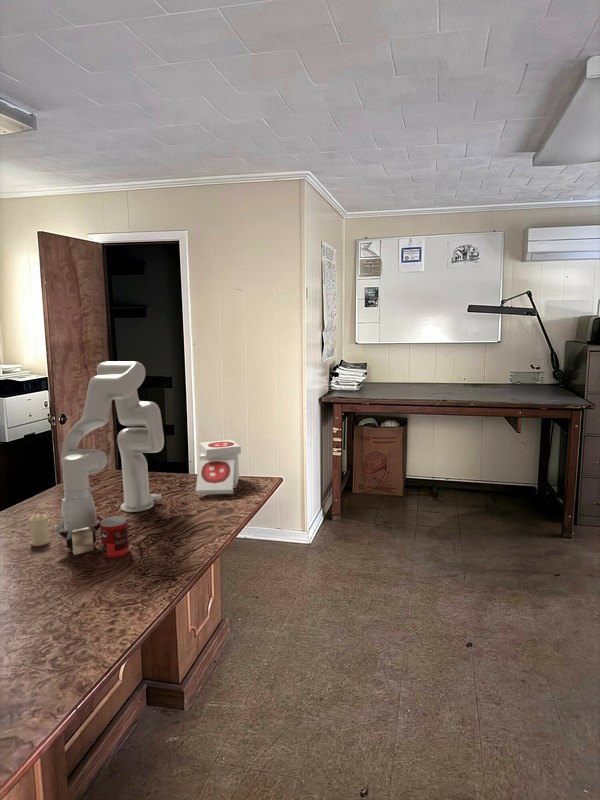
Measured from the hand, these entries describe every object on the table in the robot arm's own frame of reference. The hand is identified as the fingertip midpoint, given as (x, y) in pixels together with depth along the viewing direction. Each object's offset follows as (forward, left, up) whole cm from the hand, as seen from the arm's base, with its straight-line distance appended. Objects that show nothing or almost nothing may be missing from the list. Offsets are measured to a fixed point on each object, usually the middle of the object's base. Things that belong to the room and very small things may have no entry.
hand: (81, 546), depth 186 cm
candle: (+10, -14, -1) cm, 17 cm away
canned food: (-8, +10, -1) cm, 13 cm away
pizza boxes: (-65, -33, -1) cm, 73 cm away
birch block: (0, 0, -1) cm, 1 cm away
